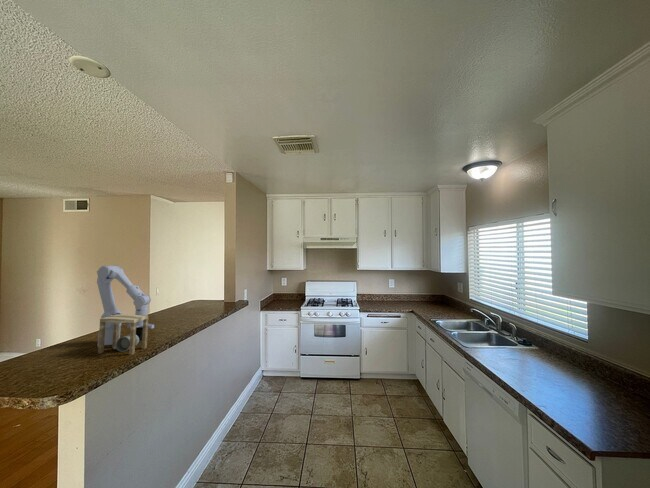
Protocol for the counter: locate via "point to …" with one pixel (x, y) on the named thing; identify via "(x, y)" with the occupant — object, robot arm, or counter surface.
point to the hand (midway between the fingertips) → (139, 340)
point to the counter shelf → (116, 320)
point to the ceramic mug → (124, 343)
